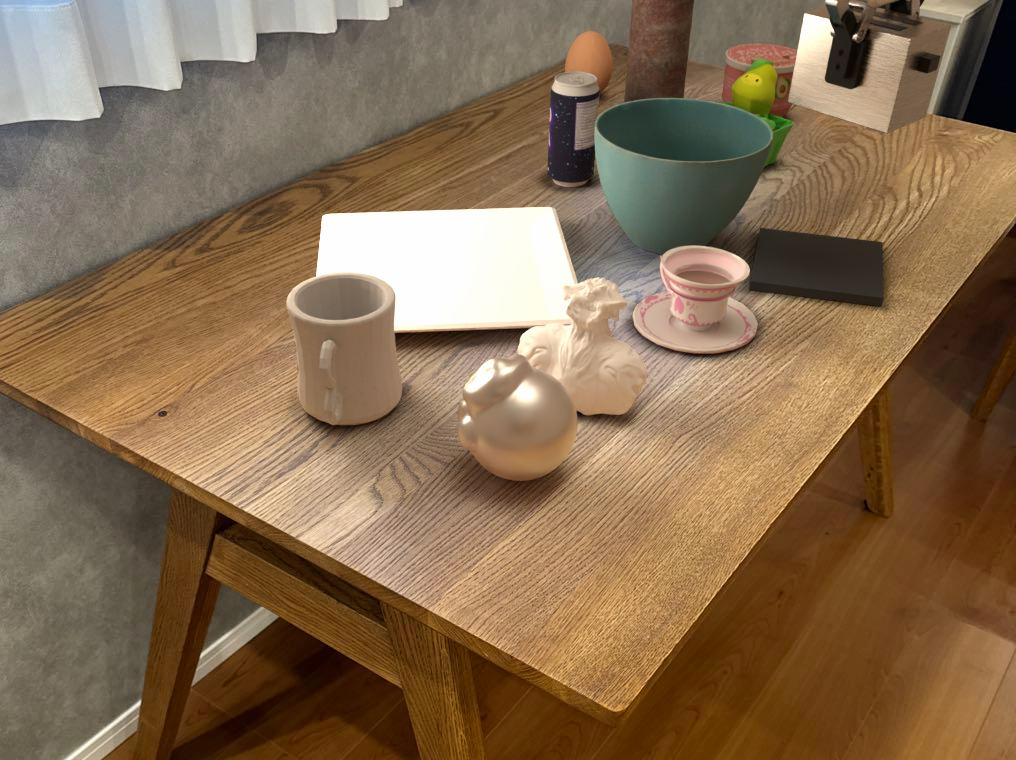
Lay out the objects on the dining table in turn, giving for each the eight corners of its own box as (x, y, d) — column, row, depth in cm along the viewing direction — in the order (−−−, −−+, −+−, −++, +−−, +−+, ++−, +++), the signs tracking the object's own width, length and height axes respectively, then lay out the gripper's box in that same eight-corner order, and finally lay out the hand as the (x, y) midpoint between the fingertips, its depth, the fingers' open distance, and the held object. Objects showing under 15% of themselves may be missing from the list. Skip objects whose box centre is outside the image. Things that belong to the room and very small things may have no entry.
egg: (609, 90, 150) (615, 25, 144) (610, 106, 145) (615, 39, 139) (563, 89, 150) (567, 24, 144) (562, 105, 145) (566, 38, 139)
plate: (588, 340, 97) (590, 320, 95) (312, 350, 95) (310, 331, 94) (554, 222, 116) (554, 204, 115) (324, 229, 115) (322, 212, 114)
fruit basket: (679, 154, 132) (691, 61, 124) (721, 136, 136) (736, 46, 128) (752, 179, 125) (769, 83, 118) (794, 161, 130) (813, 67, 122)
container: (711, 124, 139) (720, 62, 134) (721, 99, 147) (730, 40, 141) (790, 132, 137) (802, 70, 132) (796, 107, 144) (808, 47, 139)
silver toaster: (826, 88, 101) (845, -1, 96) (935, 120, 94) (962, 26, 89) (787, 102, 98) (804, 11, 93) (896, 137, 91) (922, 40, 86)
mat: (880, 250, 111) (882, 241, 110) (880, 306, 101) (883, 297, 101) (758, 236, 113) (760, 227, 113) (748, 289, 104) (750, 280, 103)
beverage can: (586, 169, 128) (593, 68, 120) (598, 187, 123) (606, 84, 116) (542, 173, 127) (546, 71, 119) (552, 191, 123) (557, 87, 115)
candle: (636, 172, 127) (654, -5, 114) (607, 152, 132) (621, -20, 119) (688, 162, 129) (712, -12, 116) (657, 142, 134) (677, -27, 121)
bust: (642, 434, 89) (685, 308, 88) (618, 424, 82) (665, 288, 81) (521, 395, 94) (561, 276, 92) (489, 383, 87) (531, 254, 85)
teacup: (781, 323, 99) (794, 264, 95) (709, 371, 93) (720, 310, 89) (680, 282, 105) (688, 225, 101) (606, 324, 99) (612, 265, 95)
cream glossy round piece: (501, 422, 87) (502, 317, 80) (594, 462, 82) (604, 355, 76) (434, 473, 81) (429, 366, 75) (530, 520, 77) (535, 410, 70)
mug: (311, 368, 93) (299, 268, 86) (410, 374, 92) (404, 272, 86) (278, 449, 84) (261, 343, 77) (387, 456, 83) (379, 349, 77)
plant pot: (748, 209, 119) (767, 101, 111) (756, 283, 105) (779, 165, 97) (592, 200, 121) (600, 93, 113) (580, 271, 107) (589, 155, 99)
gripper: (933, -170, 89) (881, 48, 101) (814, -149, 81) (772, 87, 93) (1015, -161, 85) (950, 66, 97) (897, -137, 76) (842, 108, 88)
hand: (863, 74), depth 94 cm, fingers closed on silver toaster, 6 cm apart
